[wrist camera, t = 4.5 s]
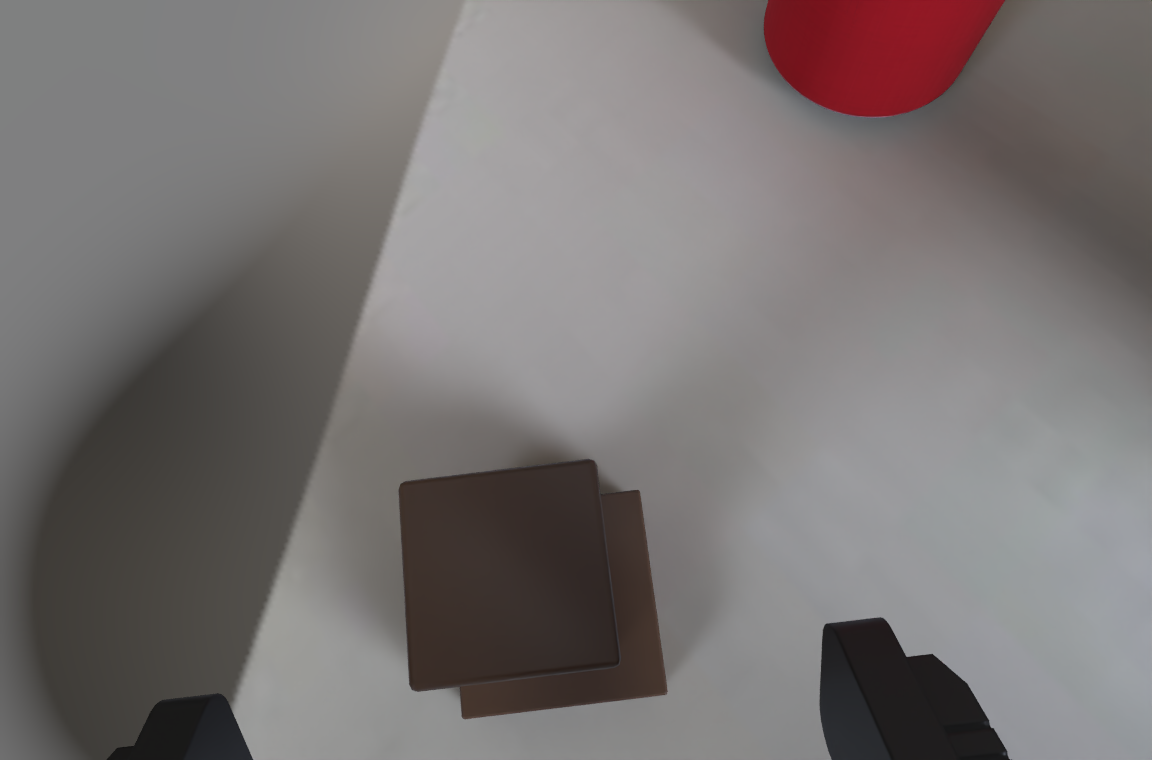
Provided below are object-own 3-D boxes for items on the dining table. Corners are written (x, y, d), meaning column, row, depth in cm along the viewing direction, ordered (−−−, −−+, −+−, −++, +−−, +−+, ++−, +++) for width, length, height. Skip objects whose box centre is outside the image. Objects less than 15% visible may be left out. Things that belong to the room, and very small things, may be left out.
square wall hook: (474, 711, 21) (319, 804, 10) (460, 522, 23) (310, 409, 11) (662, 689, 21) (727, 755, 10) (636, 501, 23) (667, 366, 11)
